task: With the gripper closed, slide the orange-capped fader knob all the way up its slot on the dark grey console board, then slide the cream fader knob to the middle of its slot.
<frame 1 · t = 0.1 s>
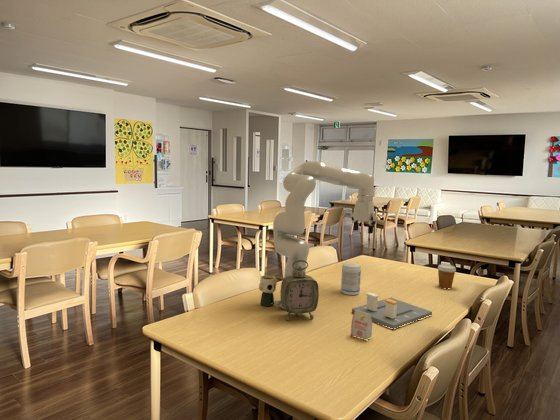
hand: (362, 231, 209), 31 cm above the table, tool pointing down, fingers open, 9 cm apart
tea bag: (360, 337, 155), on the table
tabletop clock: (297, 317, 172), on the table
character mug: (267, 305, 186), on the table
disposable coffee cup: (444, 287, 224), on the table
fader orange: (391, 308, 171), point 6 cm above the table, slide at 0.0 cm
fader cream: (372, 301, 178), point 6 cm above the table, slide at 0.0 cm
supplement tub: (349, 293, 209), on the table
console: (391, 314, 180), on the table
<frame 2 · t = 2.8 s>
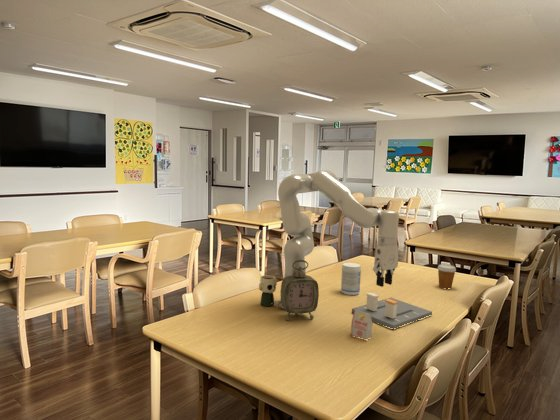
hand: (384, 284, 165), 17 cm above the table, tool pointing down, fingers open, 4 cm apart
nothing on the table moved.
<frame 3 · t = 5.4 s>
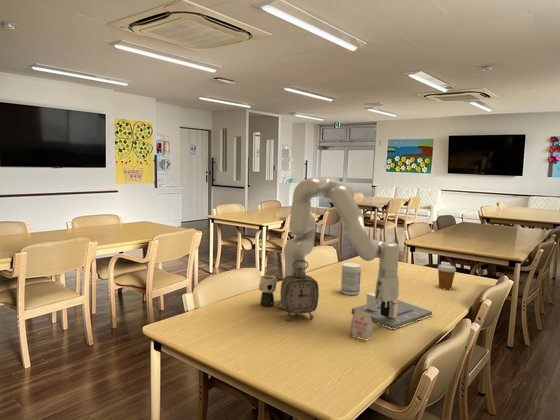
hand: (384, 315, 168), 4 cm above the table, tool pointing down, fingers closed
fader orange: (391, 308, 171), point 6 cm above the table, slide at 0.5 cm, touching gripper
everything else where it was.
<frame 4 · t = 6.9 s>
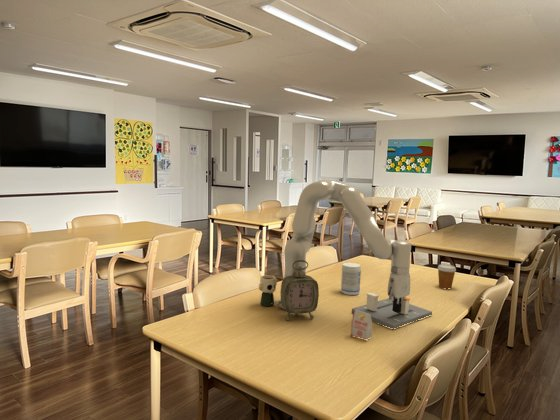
hand: (396, 311, 173), 4 cm above the table, tool pointing down, fingers closed
fader orange: (403, 305, 176), point 6 cm above the table, slide at 8.6 cm, touching gripper
everything else where it was.
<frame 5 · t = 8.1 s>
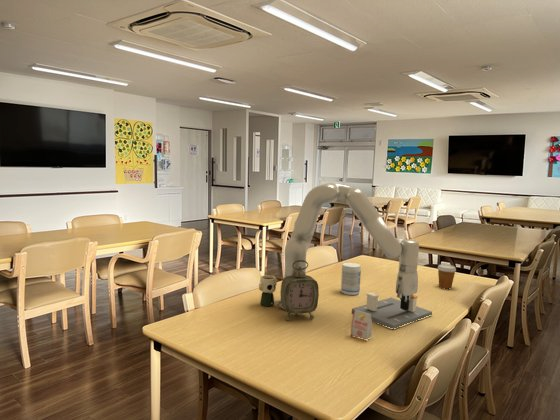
hand: (404, 309, 177), 4 cm above the table, tool pointing down, fingers closed
fader orange: (410, 302, 179), point 6 cm above the table, slide at 14.2 cm, touching gripper
everything else where it was.
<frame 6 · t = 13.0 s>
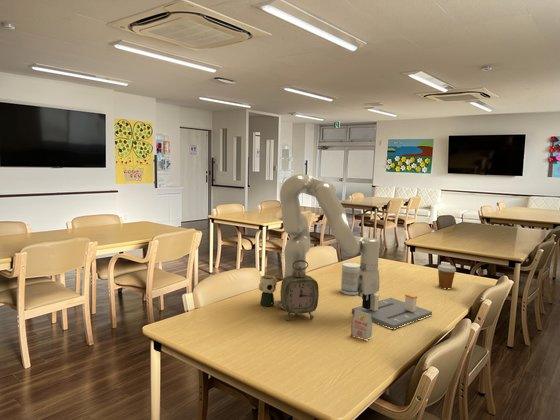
hand: (366, 308, 176), 4 cm above the table, tool pointing down, fingers closed
fader orange: (410, 302, 179), point 6 cm above the table, slide at 14.0 cm
fader cream: (373, 301, 179), point 6 cm above the table, slide at 0.6 cm, touching gripper
everything else where it was.
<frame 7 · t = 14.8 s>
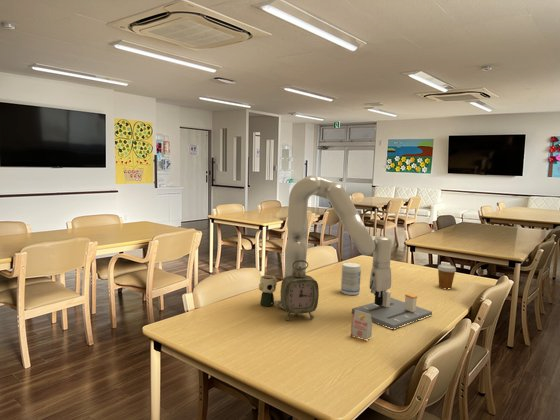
hand: (378, 304, 181), 4 cm above the table, tool pointing down, fingers closed
fader cream: (384, 298, 184), point 6 cm above the table, slide at 9.0 cm, touching gripper
everything else where it was.
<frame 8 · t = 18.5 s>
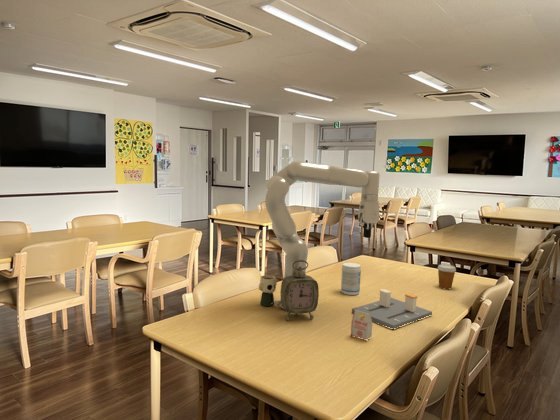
hand: (366, 237, 188), 32 cm above the table, tool pointing down, fingers closed
fader cream: (384, 298, 184), point 6 cm above the table, slide at 9.0 cm
everything else where it was.
at the end: fader orange slide at 14.0 cm; fader cream slide at 9.0 cm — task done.
